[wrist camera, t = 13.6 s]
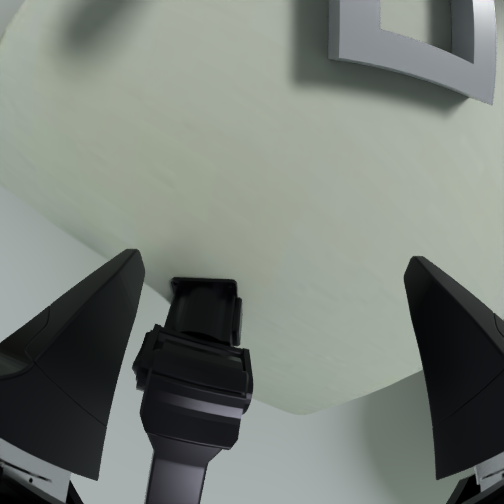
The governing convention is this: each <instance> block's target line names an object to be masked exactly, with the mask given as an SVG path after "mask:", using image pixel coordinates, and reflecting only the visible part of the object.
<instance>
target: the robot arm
mask: <svg viewBox="0 0 504 504" xmlns="http://www.w3.org/2000/svg"><path fill="white" fill-rule="evenodd" d="M144 277H145V268H144V264H143V261H142V257H141V254H140V251H139V250H138V249H126V250H124V251H123V252H121V253H120V254H118V255H117V256H115V257H114V258H113V259H111V260H110V261H108V262H107V263H105V264H104V265H103V266H101V267H100V268H98V269H97V270H96V271H94V272H93V273H92V274H90V275H89V276H87V277H86V278H85V279H84V280H82V281H81V282H79V283H78V284H77V285H75V286H74V287H73V288H71V289H70V290H69V291H68V292H66V293H65V294H63V295H62V296H61V297H60V298H58V299H57V300H56V301H54V302H53V303H52V304H51V305H50V306H48V307H47V308H45V309H44V310H43V311H42V312H40V313H39V314H38V315H37V316H35V317H34V318H33V319H32V320H30V321H29V322H28V323H26V324H25V325H24V326H22V327H21V328H19V329H18V330H17V331H15V332H14V333H13V334H11V335H10V336H9V337H7V338H6V339H5V340H3V341H2V342H1V343H0V504H84V503H83V502H82V500H81V498H80V497H79V495H78V493H77V492H76V490H75V488H74V486H73V484H72V483H71V481H70V476H71V472H72V473H75V474H78V475H81V476H84V477H86V478H90V479H93V480H96V481H97V480H98V477H99V470H100V464H101V456H102V451H103V444H104V440H105V435H106V429H107V423H108V419H109V414H110V409H111V405H112V401H113V396H114V392H115V388H116V384H117V380H118V376H119V372H120V368H121V365H122V361H123V357H124V354H125V350H126V347H127V343H128V340H129V337H130V333H131V330H132V326H133V323H134V320H135V317H136V313H137V308H138V304H139V299H140V295H141V290H142V286H143V281H144ZM176 282H177V283H176ZM230 284H232V285H230ZM404 284H405V289H406V294H407V299H408V304H409V310H410V315H411V320H412V324H413V328H414V332H415V336H416V340H417V344H418V348H419V352H420V357H421V361H422V366H423V370H424V375H425V381H426V386H427V392H428V398H429V405H430V412H431V419H432V426H433V428H432V429H433V439H434V451H435V469H436V480H439V479H442V478H445V477H448V476H451V475H453V474H456V473H459V472H461V471H464V470H466V469H468V468H471V467H473V466H474V468H475V473H473V474H471V475H469V476H467V477H465V478H463V479H461V480H460V481H459V482H458V484H457V486H456V488H455V490H454V492H453V493H452V495H451V497H450V498H449V500H448V501H447V503H446V504H504V321H503V320H502V319H501V318H500V317H499V316H497V315H496V314H495V313H493V311H492V310H491V309H489V308H488V307H487V306H486V305H485V304H484V303H482V302H481V301H480V300H479V299H478V298H476V297H475V296H474V295H473V294H472V293H470V292H469V291H468V290H467V289H465V288H464V287H463V286H462V285H460V284H459V283H458V282H457V281H455V280H454V279H453V278H452V277H450V276H449V275H448V274H446V273H445V272H444V271H442V270H441V269H440V268H438V267H437V266H436V265H434V264H433V263H432V262H430V261H429V260H428V259H426V258H425V257H423V256H413V257H412V258H411V259H410V262H409V264H408V267H407V269H406V271H405V274H404ZM171 285H172V289H173V293H174V297H173V300H172V303H171V306H170V309H169V313H168V316H167V319H166V322H165V326H164V327H161V325H158V324H155V326H154V329H153V330H151V331H150V332H147V333H146V335H145V338H144V341H143V344H142V347H141V349H140V351H139V353H138V355H137V357H136V359H135V361H134V363H133V366H132V369H133V371H134V373H135V375H136V381H137V386H136V388H137V390H141V391H143V392H144V394H143V399H142V403H141V408H140V417H141V420H142V423H143V427H144V430H145V431H146V433H147V435H148V437H149V440H150V442H151V445H152V447H153V455H152V460H151V466H150V471H149V477H148V483H147V489H146V495H145V502H144V504H200V500H201V495H202V490H203V485H204V480H205V475H206V470H207V466H208V462H209V461H210V460H212V459H213V458H214V457H215V456H216V455H217V454H218V453H219V452H220V451H221V450H222V449H225V450H229V449H231V448H232V446H233V445H234V444H235V443H236V441H237V440H238V435H239V427H240V421H241V416H242V414H244V413H245V412H246V411H247V409H248V407H249V405H250V402H251V398H252V393H253V376H252V368H251V361H250V353H249V349H245V348H243V349H241V348H236V347H234V346H239V345H240V339H241V326H242V299H241V298H238V294H237V282H236V281H235V280H230V279H203V278H179V277H174V278H173V279H172V281H171Z"/></svg>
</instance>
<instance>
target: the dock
mask: <svg viewBox="0 0 504 504" xmlns="http://www.w3.org/2000/svg"><path fill="white" fill-rule="evenodd" d="M450 1H451V21H452V47H451V53H449V52H446V51H444V50H442V49H439V48H437V47H434V46H432V45H429V44H426V43H424V42H421V41H418V40H415V39H412V38H409V37H406V36H403V35H400V34H397V33H393V32H390V31H386V30H382V29H380V0H329V34H328V59H331V60H338V61H345V62H351V63H356V64H362V65H367V66H372V67H376V68H381V69H385V70H389V71H393V72H397V73H401V74H404V75H408V76H411V77H415V78H418V79H421V80H424V81H428V82H431V83H433V84H436V85H439V86H442V87H445V88H447V89H450V90H453V91H455V92H458V93H460V94H463V95H465V96H467V97H470V98H473V99H476V100H478V101H481V102H484V103H487V104H489V105H493V97H494V88H495V76H496V55H497V38H496V17H495V6H494V0H450Z"/></svg>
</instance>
